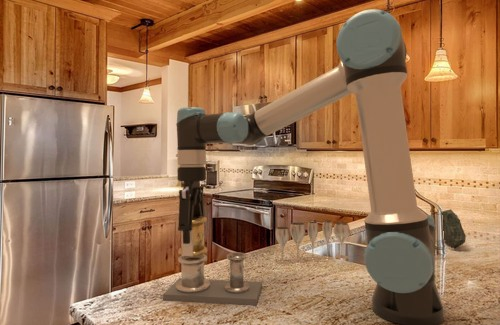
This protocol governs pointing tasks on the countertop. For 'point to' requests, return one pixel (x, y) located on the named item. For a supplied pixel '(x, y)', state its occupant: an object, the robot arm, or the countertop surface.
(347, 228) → the goblet set
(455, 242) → the rock
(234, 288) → the narrow pipe stub
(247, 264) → the countertop surface
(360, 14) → the robot arm
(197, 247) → the gold flared knob
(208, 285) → the wide pipe stub
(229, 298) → the plate
